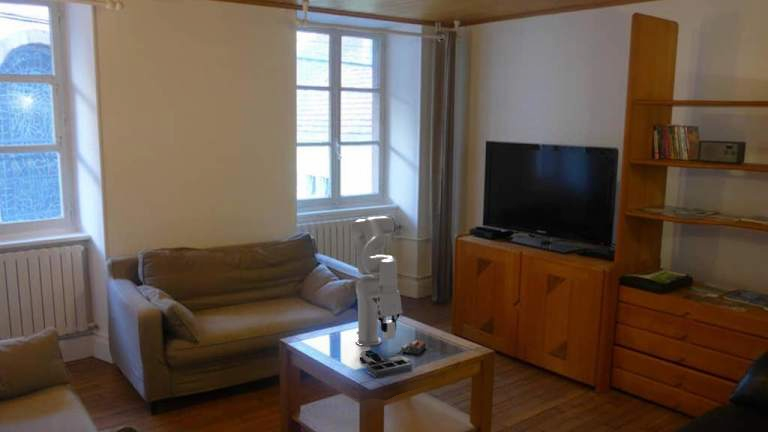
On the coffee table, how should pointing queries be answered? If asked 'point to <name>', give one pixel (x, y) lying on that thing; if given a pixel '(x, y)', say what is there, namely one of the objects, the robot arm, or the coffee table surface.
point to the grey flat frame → (389, 367)
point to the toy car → (371, 357)
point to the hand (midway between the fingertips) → (388, 329)
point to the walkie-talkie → (413, 347)
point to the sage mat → (398, 358)
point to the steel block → (389, 330)
